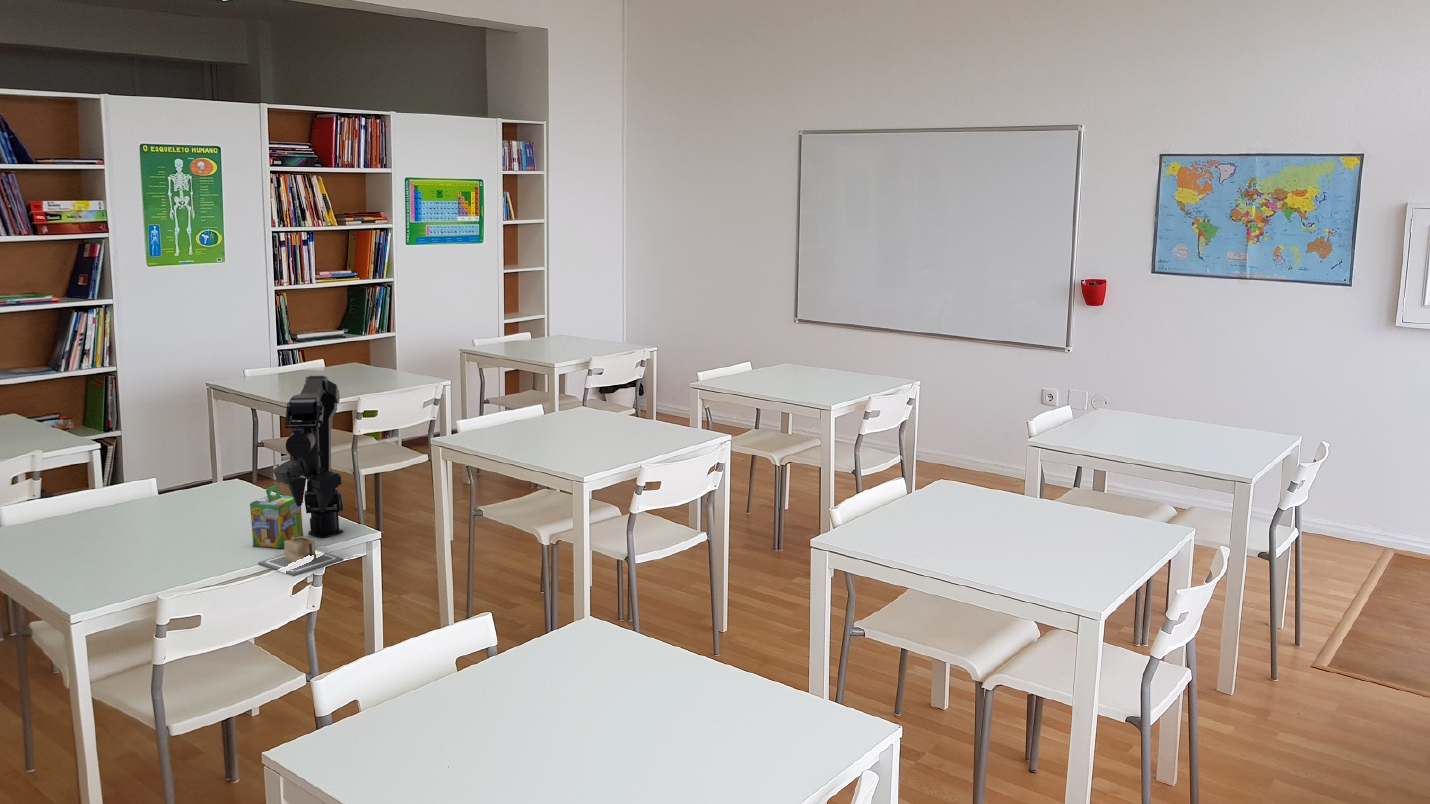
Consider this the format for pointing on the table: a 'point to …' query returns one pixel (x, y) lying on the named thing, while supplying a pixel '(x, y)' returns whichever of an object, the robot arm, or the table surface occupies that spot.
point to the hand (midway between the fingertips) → (310, 509)
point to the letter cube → (299, 548)
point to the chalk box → (275, 520)
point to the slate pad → (314, 564)
